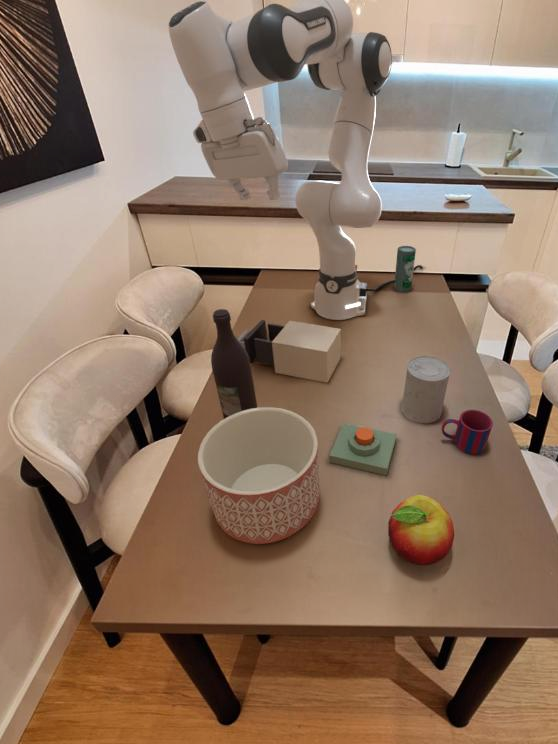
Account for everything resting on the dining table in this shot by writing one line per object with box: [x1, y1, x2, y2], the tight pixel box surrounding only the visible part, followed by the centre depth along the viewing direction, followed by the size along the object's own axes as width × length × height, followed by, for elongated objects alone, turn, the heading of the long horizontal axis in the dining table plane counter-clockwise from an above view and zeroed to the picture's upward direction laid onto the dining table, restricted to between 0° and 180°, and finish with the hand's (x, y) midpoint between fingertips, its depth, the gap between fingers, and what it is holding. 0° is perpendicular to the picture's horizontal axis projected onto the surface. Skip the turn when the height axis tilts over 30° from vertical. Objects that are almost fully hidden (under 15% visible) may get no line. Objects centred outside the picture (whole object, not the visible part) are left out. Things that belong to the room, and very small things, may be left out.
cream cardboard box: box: [272, 320, 342, 384], centre depth 106 cm, size 15×12×10 cm
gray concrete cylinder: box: [401, 355, 452, 424], centre depth 92 cm, size 10×10×12 cm
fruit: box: [387, 494, 455, 567], centre depth 65 cm, size 11×11×10 cm
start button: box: [356, 426, 373, 446], centre depth 82 cm, size 4×4×2 cm
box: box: [328, 422, 397, 476], centre depth 83 cm, size 10×12×4 cm
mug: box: [441, 409, 494, 455], centre depth 85 cm, size 7×10×7 cm
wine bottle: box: [210, 308, 258, 420], centre depth 78 cm, size 7×7×30 cm
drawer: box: [237, 319, 286, 367], centre depth 108 cm, size 18×10×8 cm, turn 74°
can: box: [393, 245, 417, 293], centre depth 144 cm, size 6×6×15 cm
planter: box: [197, 406, 321, 545], centre depth 70 cm, size 19×19×15 cm
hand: (260, 199), depth 83 cm, fingers open, 8 cm apart
